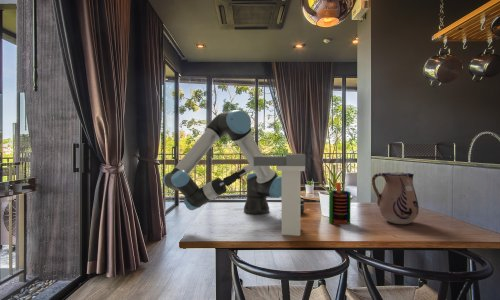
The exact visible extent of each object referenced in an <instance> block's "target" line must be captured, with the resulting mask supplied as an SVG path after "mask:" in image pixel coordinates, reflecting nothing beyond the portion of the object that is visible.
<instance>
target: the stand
mask: <svg viewBox="0 0 500 300" xmlns="http://www.w3.org/2000/svg"><path fill="white" fill-rule="evenodd" d="M275 168H276V170H275V172H276V171H277V172H281V177H282V196H281V236H299V237H300V236H301V230H302V229H301V226H302V225H301V222H302V221H301V218H302V216H301V215H302V214H301V199H302V198H301V191H302V190H301V186H302V183H301V182H302V181H301V172H305V171H306V165H305V166H275Z"/></svg>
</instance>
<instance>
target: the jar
mask: <svg viewBox="0 0 500 300" xmlns="http://www.w3.org/2000/svg"><path fill="white" fill-rule="evenodd" d="M304 212H305V199H302V198H301V215H303V214H304Z"/></svg>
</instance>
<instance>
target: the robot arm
mask: <svg viewBox="0 0 500 300" xmlns="http://www.w3.org/2000/svg"><path fill="white" fill-rule="evenodd" d="M252 131H253V130H252V120H251V117H250V116H249V114H248V113H247V112H245V111H244V110H241V109H232V110H229V111H224V112H221V113H219V114H217V115H216V116H215V117H213V119H212V120H211V121H210V122H209V123H208V124H207V126H206V127H205V128H204V132H203V133H202V135H200V137H199V138H198V139H197V140H196V142H195V143H194V144H193V145H192V147H191V148H190V149H189V150H188V151H187V153H186V154H185V155H184V156H183V157H182V159H180V161H179V162H178V163H177V164H176V166H175V167H174V168H173V169H172V170H171V171H170V172H167V173H165V174H164V176H163V177H162V183H163V185H164V186H165V187H166V188H168V189H171V190H175V191H178V192H180V193H181V194H182V195H183V197H184V198H183V204H184V205H185V207H186V209H188V210H189V211H195V210H196V209H200V208H201V207H203V206H205V205H206V204H207V203H209V202H210V201H212V200H213V201H215V200H216V198H217V197H219V196H222V195H224V194H225V193H226V192H227V187H229V186H231V185H232V184H233V183H236V181H237V180H241V178H242V177H244V176H246V200H245V203H244V206H243V212H244V213H245V212H246V213H245V214H249V213H251V215H262V214H263V213H265V214H268V213H269V212H270V206H269V203H268V200H267V197H268V198H273V199H275V198H277V199H278V198H280V197H282V176H281V175H280V176H279V175H278V174H277V172H276V170H275V169H274V168H271V166H254V156H264V155H263V154H264V153H262V151H261V149H260V148H259V146H258V144H257V142H256V140H255V139H254V137H253V136H252ZM226 135H228V136H229V138H230V140H231V141H232V142H235V143H236V144H237V146H238V148H239V149H240V151H241V152H242V154H243V156H244V157H245V160H246V161H247V162H248V164H247V165H245V166H244V167H242V168H239V170H237V171H235V172H232V173H231V174H230V175H228V176H226V177H224V178H220V177H216V178H214V179H212V180H211V181H209V182H207V183H205V184H204V185H203V186H201V187H200V186H199V185H198V184H197V183H196V182H195V181H194V179H193V178H192V177H191V176H190V174H191V172H192V171H193V170H194V169H195V168H196V166H197V165H198V163H200V161H201V160H202V159H203V157H204V156H206V154H207V153H208V152H209V150H210V149H211V148H212V147H213V145H214V144H215V143H216V142H218V141H220V140H221V139H222V138H223V137H224V136H226ZM251 172H252V173H251ZM253 172H254V173H253ZM226 186H227V187H226ZM263 215H264V214H263Z"/></svg>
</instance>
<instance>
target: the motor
mask: <svg viewBox="0 0 500 300" xmlns="http://www.w3.org/2000/svg"><path fill="white" fill-rule="evenodd" d="M341 186H342V185H341V183H340V182H334V187H335V188H336V190H329V192H328V193H329V196H328V197H329V198H328V201H329V202H328V204H329V205H328V207H329V209H328V210H329V211H328V215H329V216H328V219H329V220H328V223H329V224H331V225H337V226H347V225H348V224H349V225H350V224H351V200H352V199H351V192H350V191H347V190H342V187H341Z"/></svg>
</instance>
